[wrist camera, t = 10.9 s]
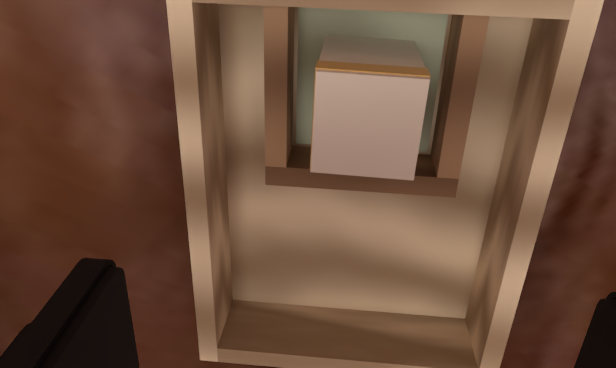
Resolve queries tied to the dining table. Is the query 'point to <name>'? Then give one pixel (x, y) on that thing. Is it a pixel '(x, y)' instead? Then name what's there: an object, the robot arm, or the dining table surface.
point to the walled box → (369, 179)
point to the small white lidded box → (368, 107)
